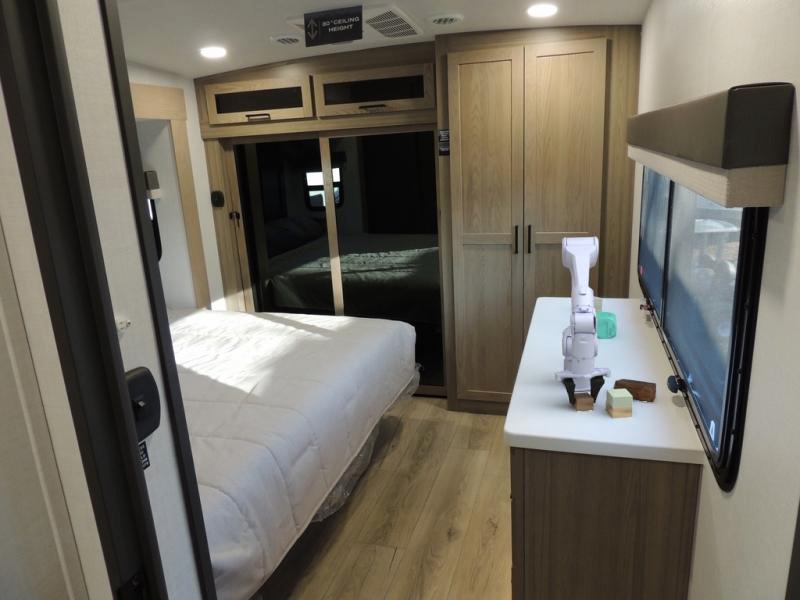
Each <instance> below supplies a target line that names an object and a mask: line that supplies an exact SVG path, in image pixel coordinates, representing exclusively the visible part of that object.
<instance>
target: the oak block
mask: <svg viewBox="0 0 800 600" xmlns="http://www.w3.org/2000/svg"><path fill="white" fill-rule="evenodd" d="M605 411H606V412H607V413H608V415H610V417H611V418H612V419H620V418H621V419H622V418H624V419H625V418H632V417H633V406H632V407H623V408H612V406H611V405H610V404H609V403H608V401H607V400H605Z"/></svg>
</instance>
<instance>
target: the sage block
mask: <svg viewBox="0 0 800 600" xmlns="http://www.w3.org/2000/svg"><path fill="white" fill-rule="evenodd" d="M606 400H607V401H608V403H609V404H610V405H611V406H612V408H623V407H632V408H633V401H634V400H633V396H632V395H631V394H630V393H629V392H628V391H627V390H626V389H613V388H611V389H606ZM606 400H605V401H606Z"/></svg>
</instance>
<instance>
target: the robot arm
mask: <svg viewBox="0 0 800 600" xmlns="http://www.w3.org/2000/svg"><path fill="white" fill-rule="evenodd" d="M561 241H562V242H561V256H562V257H561V258H562V260H561V261H562V265H563V267H564V268H567V269H569V272H570V275H571V276H570V277H571V293H570V294H571V301H570V302H571V314H570V316H569V317H570V319H569V326H567V327H566V328H564V329H563V331H562V338H561V352H562V356H563V357H564V359H563V370H560V371H555V372H554V379H555V380H556V381H557V382H561V383H562V384H563V385H564V387H565V390H566V393H567V396H568V402H569V403H570V405H571V406H572V405H574V393H577V392H585V391H586V392H588V391H589V392H590V393H589V394H590V395H591V396H592V398H593V399H594V404H596V403H597V399H598V396H599V394H600V391H601V389H602V388H603V386H604V385H605V382H606V381H605V378H604V377H606V378H611V375H612V374H611V373H612V372H611V369H610V368H609V367H595V358H596V357H597V356H598V355H599V354H598V353H599V341H598V339H599V338H597V332H596V331H597V316H596V312H595V308H594V290H593V289H592V288H591V287H590V286H589V282H590V281H589V279H590V269H591V268H593V267H595V266H596V263H597V262H598V257H599V251H600V250H599V238H598V237H597V236H591V237H590V236H586V237H583V236H582V237H581V236H580V237H565V236H564V237H563V238H562V239H561ZM593 327H594V329H593Z"/></svg>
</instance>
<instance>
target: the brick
mask: <svg viewBox="0 0 800 600" xmlns="http://www.w3.org/2000/svg"><path fill="white" fill-rule="evenodd" d="M612 389H626V390H627V391H628V392H629V393H630V394H631V395H632V396H633V401H638V400H639V402H643V401H647V402H646V403H649V402H653V403H654V402H655V401H656V398H657V397H656V395H657V383H655V382H648V381H642V380H635V379H627V378H622V379H616V380H614V385H613V388H612Z"/></svg>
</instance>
